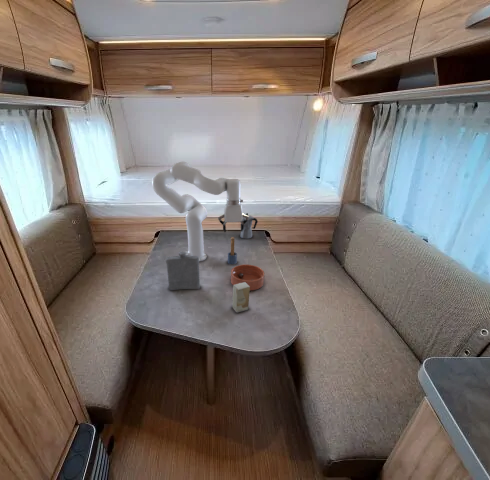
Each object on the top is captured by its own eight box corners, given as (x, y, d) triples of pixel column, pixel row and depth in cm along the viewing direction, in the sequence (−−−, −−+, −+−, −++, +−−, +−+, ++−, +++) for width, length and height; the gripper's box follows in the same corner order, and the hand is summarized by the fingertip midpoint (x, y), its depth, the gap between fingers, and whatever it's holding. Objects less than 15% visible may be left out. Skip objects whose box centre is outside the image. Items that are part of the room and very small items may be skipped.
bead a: (238, 279, 142) (238, 274, 141) (237, 276, 145) (237, 272, 144) (243, 279, 142) (244, 274, 141) (243, 276, 145) (243, 272, 144)
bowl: (232, 291, 133) (232, 281, 131) (229, 274, 149) (229, 264, 147) (266, 291, 133) (267, 280, 131) (260, 273, 149) (260, 264, 147)
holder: (228, 265, 159) (228, 256, 157) (227, 260, 164) (227, 252, 162) (237, 264, 159) (237, 255, 157) (236, 260, 164) (236, 251, 162)
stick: (230, 262, 160) (231, 238, 154) (230, 261, 162) (230, 237, 156) (233, 262, 160) (234, 238, 154) (233, 261, 162) (234, 237, 156)
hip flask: (168, 290, 136) (165, 255, 128) (169, 285, 139) (166, 251, 131) (199, 289, 136) (198, 254, 128) (199, 284, 140) (198, 250, 132)
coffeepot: (235, 236, 200) (235, 213, 193) (242, 232, 207) (242, 210, 200) (253, 241, 191) (254, 217, 184) (259, 237, 198) (261, 213, 191)
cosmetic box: (236, 313, 118) (237, 289, 113) (232, 307, 122) (232, 284, 117) (249, 309, 120) (250, 286, 116) (244, 303, 124) (245, 281, 119)
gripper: (248, 199, 150) (247, 228, 157) (217, 200, 150) (218, 229, 157) (250, 203, 143) (249, 233, 150) (218, 204, 143) (218, 233, 150)
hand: (233, 231), depth 153 cm, fingers open, 9 cm apart
